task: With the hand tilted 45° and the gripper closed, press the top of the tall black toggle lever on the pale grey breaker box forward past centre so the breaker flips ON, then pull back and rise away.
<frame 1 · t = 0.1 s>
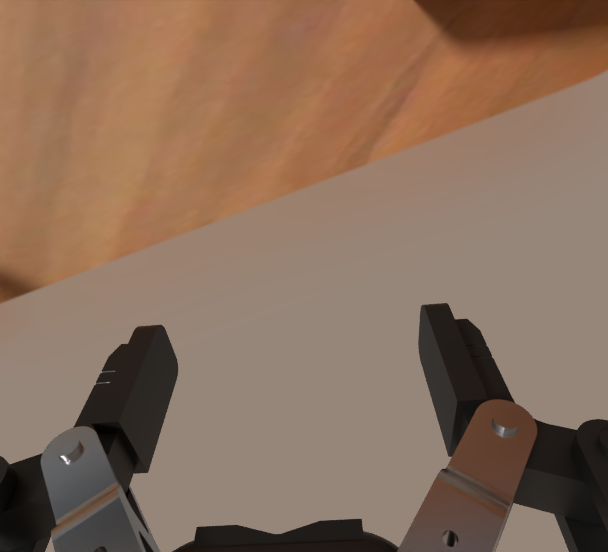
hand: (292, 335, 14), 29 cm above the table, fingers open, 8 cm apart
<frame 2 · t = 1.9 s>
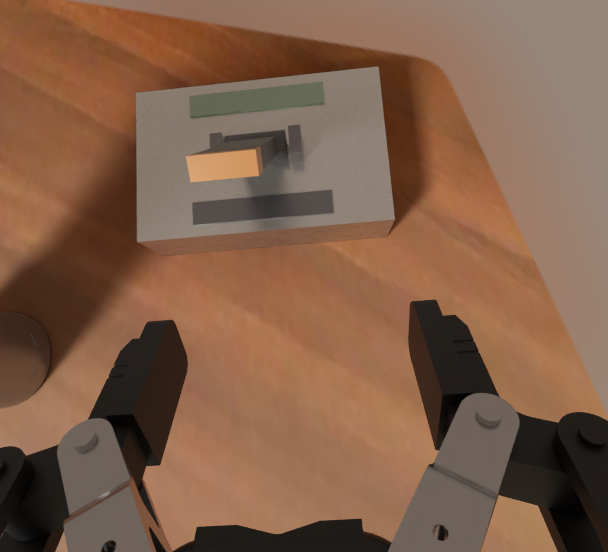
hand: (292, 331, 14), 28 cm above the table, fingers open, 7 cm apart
breaker box: (269, 179, 44), on the table
breaker lever: (244, 153, 31), point 13 cm above the table, hinge at -30.0°
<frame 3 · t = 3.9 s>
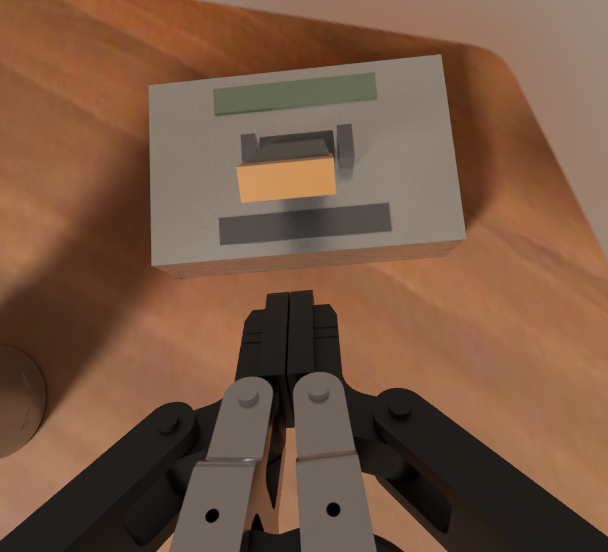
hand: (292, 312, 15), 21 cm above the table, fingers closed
breaker box: (304, 187, 37), on the table
breaker lever: (294, 160, 24), point 13 cm above the table, hinge at -30.0°
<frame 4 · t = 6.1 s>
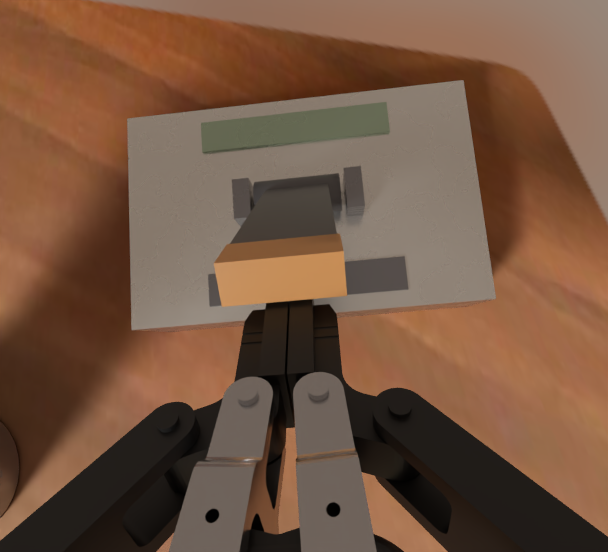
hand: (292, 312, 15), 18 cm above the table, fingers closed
breaker box: (306, 227, 33), on the table
breaker lever: (293, 221, 20), point 13 cm above the table, hinge at -28.9°, touching gripper
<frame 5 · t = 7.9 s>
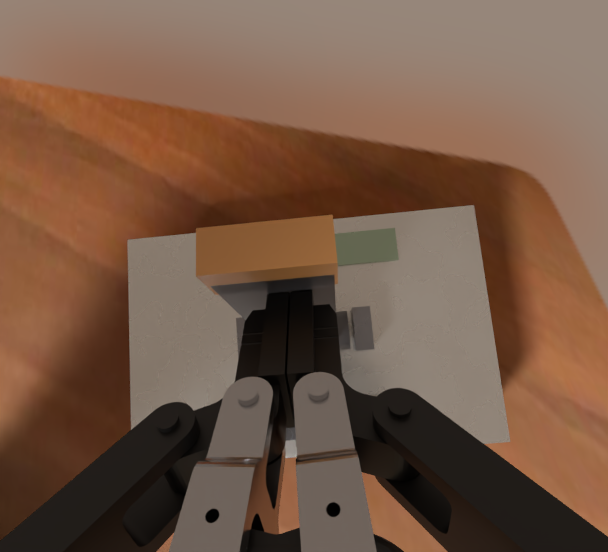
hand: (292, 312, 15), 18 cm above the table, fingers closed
breaker box: (311, 336, 32), on the table
breaker lever: (293, 308, 19), point 14 cm above the table, hinge at 8.3°, touching gripper
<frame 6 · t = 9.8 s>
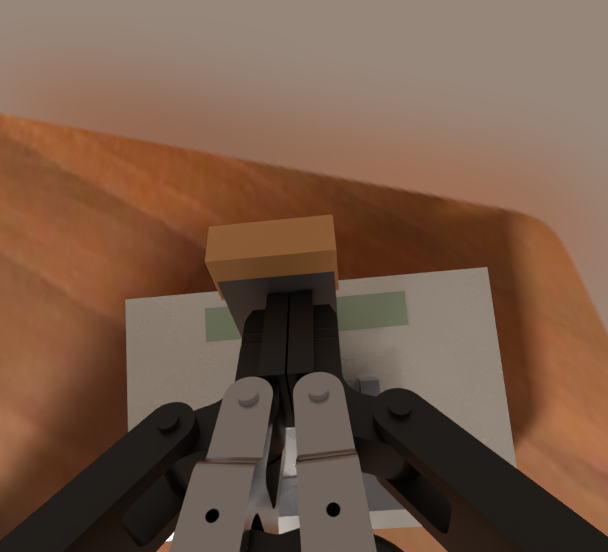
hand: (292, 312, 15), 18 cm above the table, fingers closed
breaker box: (316, 390, 31), on the table
breaker lever: (298, 353, 19), point 13 cm above the table, hinge at 28.3°, touching gripper
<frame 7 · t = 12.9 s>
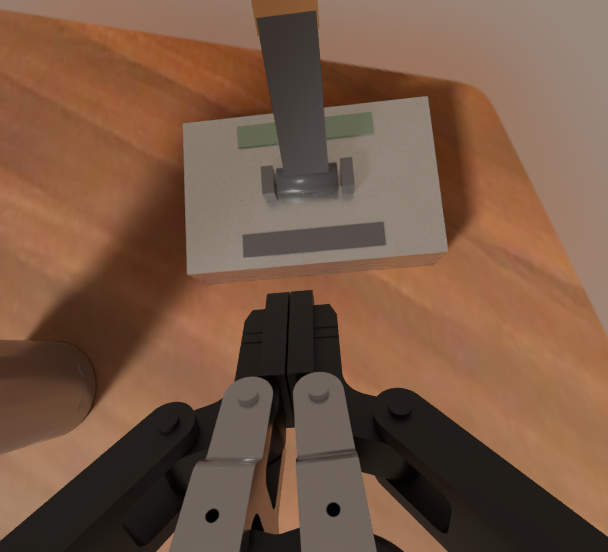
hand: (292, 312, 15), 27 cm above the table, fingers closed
breaker box: (313, 206, 44), on the table
breaker lever: (298, 108, 31), point 13 cm above the table, hinge at 28.3°
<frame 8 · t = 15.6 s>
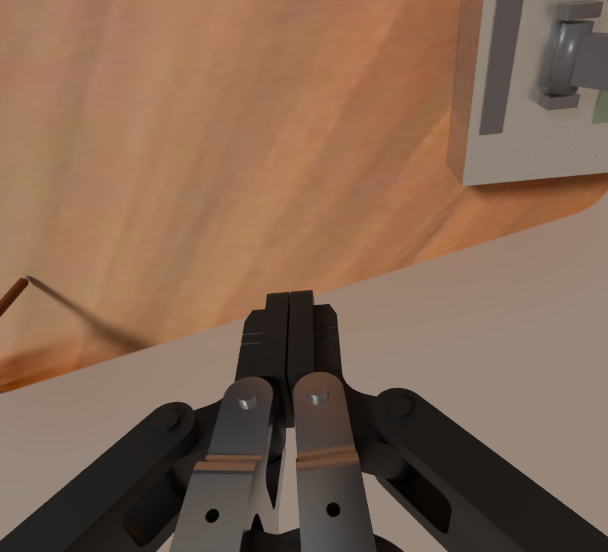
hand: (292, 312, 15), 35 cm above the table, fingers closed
breaker box: (531, 44, 41), on the table
magnifying glass: (28, 276, 57), on the table
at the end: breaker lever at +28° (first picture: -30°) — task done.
